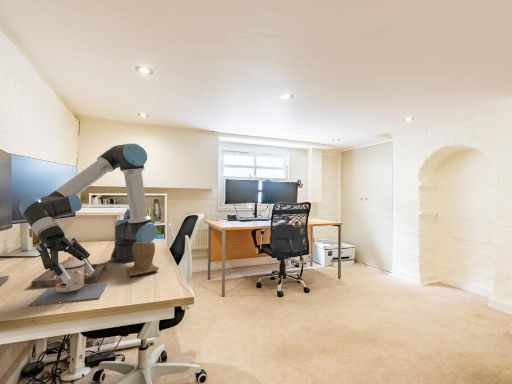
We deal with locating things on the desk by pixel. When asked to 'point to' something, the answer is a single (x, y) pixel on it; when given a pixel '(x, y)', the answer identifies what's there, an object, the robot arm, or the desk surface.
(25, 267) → the desk surface
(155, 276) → the desk surface
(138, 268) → the brown upright rounded piece
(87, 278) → the walnut holder frame
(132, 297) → the desk surface
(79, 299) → the charcoal rubber mat
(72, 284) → the teacup with lid
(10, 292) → the desk surface
